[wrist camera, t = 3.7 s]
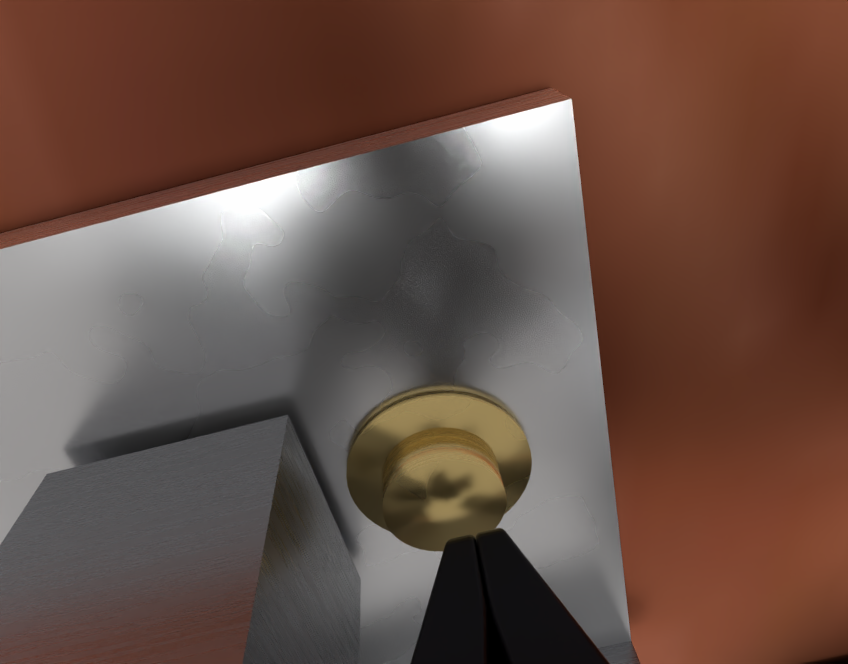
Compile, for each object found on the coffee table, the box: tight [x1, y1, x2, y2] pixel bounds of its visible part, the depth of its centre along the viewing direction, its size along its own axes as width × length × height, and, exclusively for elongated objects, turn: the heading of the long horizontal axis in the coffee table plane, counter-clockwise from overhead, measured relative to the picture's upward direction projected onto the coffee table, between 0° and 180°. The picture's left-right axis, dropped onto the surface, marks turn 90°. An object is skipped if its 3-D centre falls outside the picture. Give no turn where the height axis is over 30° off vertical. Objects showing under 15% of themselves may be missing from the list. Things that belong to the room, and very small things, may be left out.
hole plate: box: [0, 88, 640, 664], centre depth 11 cm, size 18×13×3 cm
